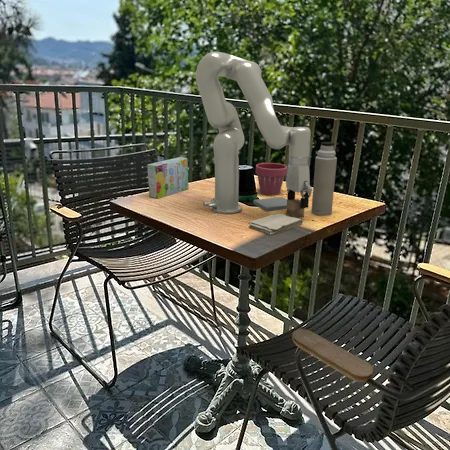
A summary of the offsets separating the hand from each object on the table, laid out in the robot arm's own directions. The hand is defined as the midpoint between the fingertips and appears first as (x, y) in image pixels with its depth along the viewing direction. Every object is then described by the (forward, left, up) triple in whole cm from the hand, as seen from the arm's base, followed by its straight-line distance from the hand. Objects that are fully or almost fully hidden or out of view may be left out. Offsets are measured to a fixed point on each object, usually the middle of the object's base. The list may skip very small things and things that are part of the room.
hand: (297, 204), depth 167 cm
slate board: (-2, +15, -5) cm, 16 cm away
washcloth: (-13, -7, -5) cm, 16 cm away
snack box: (-38, +50, -5) cm, 63 cm away
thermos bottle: (+11, 0, -5) cm, 12 cm away
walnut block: (-1, 0, -5) cm, 5 cm away
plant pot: (+6, +34, -5) cm, 35 cm away
